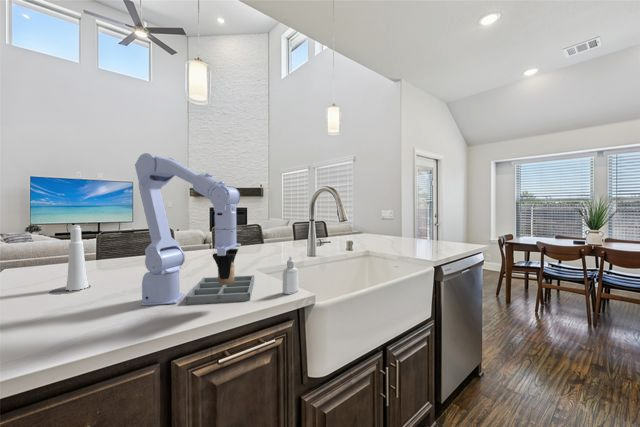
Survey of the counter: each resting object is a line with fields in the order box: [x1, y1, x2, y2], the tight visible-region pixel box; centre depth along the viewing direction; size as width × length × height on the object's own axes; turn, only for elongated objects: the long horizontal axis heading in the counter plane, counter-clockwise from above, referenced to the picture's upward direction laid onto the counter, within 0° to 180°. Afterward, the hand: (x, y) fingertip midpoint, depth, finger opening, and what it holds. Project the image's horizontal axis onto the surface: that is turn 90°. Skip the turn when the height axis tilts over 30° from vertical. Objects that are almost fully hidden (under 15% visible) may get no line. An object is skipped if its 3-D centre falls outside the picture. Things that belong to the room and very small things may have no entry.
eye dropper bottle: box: [282, 256, 299, 295], centre depth 91 cm, size 4×6×12 cm
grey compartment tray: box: [185, 275, 255, 305], centre depth 92 cm, size 18×21×2 cm
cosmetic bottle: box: [65, 224, 89, 292], centre depth 95 cm, size 6×6×22 cm
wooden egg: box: [217, 262, 235, 285], centre depth 77 cm, size 4×4×7 cm
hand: (226, 276), depth 77 cm, fingers closed on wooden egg, 4 cm apart
